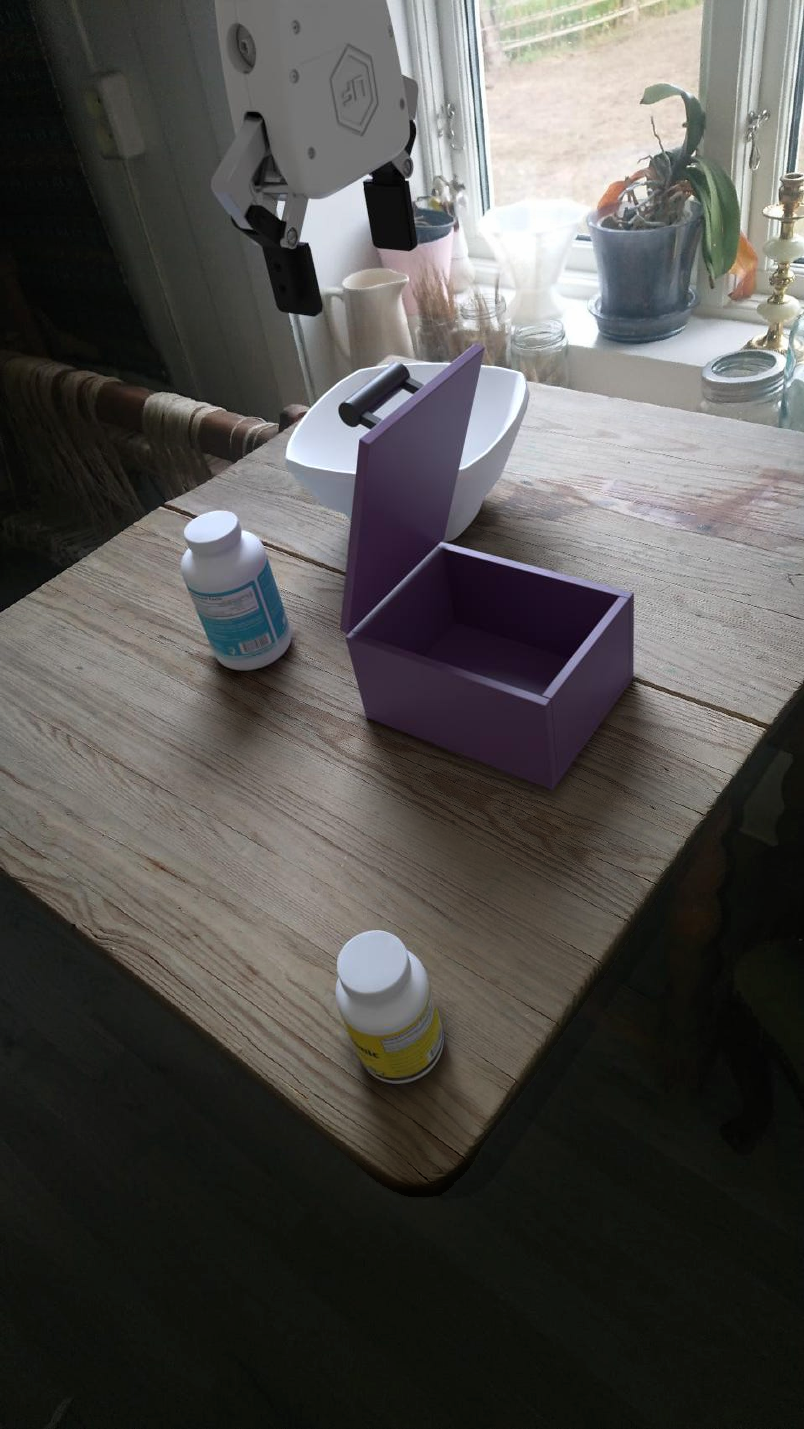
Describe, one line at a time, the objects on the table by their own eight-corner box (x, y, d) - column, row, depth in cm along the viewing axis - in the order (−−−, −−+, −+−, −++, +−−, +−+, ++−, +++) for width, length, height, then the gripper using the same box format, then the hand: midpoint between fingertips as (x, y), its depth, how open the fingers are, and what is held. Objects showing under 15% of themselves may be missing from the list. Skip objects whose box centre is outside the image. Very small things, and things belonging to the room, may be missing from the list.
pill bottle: (252, 613, 94) (210, 493, 85) (309, 634, 90) (272, 510, 81) (199, 660, 90) (149, 539, 81) (256, 684, 87) (212, 560, 77)
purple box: (633, 677, 80) (634, 592, 74) (552, 790, 72) (545, 706, 66) (453, 621, 88) (441, 541, 82) (365, 717, 81) (344, 637, 75)
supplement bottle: (345, 1027, 61) (310, 943, 55) (423, 990, 62) (398, 902, 56) (377, 1103, 58) (344, 1021, 51) (459, 1062, 59) (437, 977, 52)
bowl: (368, 455, 112) (348, 359, 104) (556, 466, 104) (550, 362, 96) (285, 570, 99) (254, 469, 91) (494, 592, 90) (481, 483, 82)
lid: (485, 347, 67) (424, 315, 68) (369, 444, 60) (303, 407, 61) (444, 539, 82) (394, 510, 83) (347, 635, 75) (295, 602, 76)
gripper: (220, -35, 42) (309, 348, 54) (442, -114, 51) (476, 230, 63) (106, -24, 46) (213, 332, 58) (331, -99, 55) (383, 222, 67)
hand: (350, 278), depth 60 cm, fingers open, 9 cm apart
